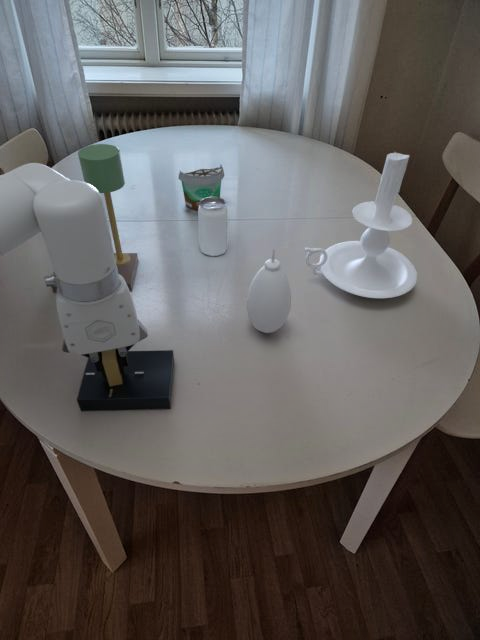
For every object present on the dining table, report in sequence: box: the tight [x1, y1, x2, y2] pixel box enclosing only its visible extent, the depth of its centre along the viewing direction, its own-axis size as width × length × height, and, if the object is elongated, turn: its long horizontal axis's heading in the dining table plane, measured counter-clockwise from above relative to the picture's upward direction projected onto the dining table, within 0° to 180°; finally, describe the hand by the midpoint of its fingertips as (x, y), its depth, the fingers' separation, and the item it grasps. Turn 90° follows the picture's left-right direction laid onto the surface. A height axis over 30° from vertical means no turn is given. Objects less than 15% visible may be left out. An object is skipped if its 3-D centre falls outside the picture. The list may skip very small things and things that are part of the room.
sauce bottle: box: [246, 249, 292, 334], centre depth 76 cm, size 8×8×18 cm
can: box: [197, 197, 228, 257], centre depth 97 cm, size 6×6×12 cm
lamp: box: [77, 143, 130, 266], centre depth 82 cm, size 7×7×23 cm
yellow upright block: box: [102, 349, 123, 386], centre depth 67 cm, size 5×2×6 cm, turn 16°
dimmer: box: [76, 349, 175, 412], centre depth 70 cm, size 14×10×3 cm
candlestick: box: [304, 151, 418, 299], centre depth 85 cm, size 21×25×28 cm
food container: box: [178, 163, 225, 212], centre depth 112 cm, size 12×6×10 cm, turn 114°
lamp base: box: [50, 252, 139, 293], centre depth 91 cm, size 16×11×4 cm
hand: (113, 369), depth 68 cm, fingers closed on yellow upright block, 2 cm apart
